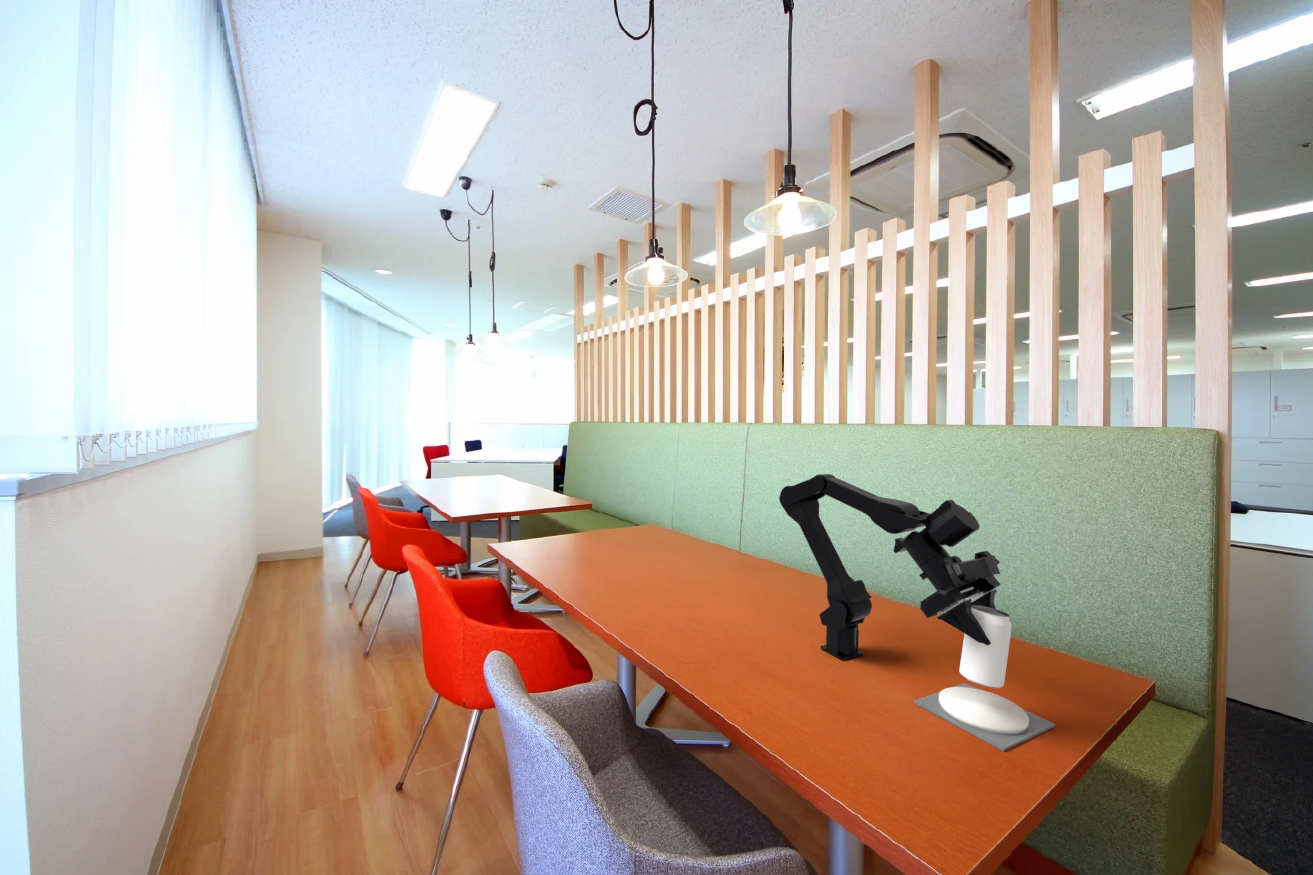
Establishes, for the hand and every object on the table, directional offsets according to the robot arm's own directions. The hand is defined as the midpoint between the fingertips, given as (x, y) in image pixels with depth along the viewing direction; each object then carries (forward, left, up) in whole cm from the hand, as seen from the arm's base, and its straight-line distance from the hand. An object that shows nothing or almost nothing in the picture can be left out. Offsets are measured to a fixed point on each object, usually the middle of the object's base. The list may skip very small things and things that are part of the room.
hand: (996, 640), depth 86 cm
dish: (-1, +1, -13) cm, 13 cm away
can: (-2, +1, -7) cm, 8 cm away
